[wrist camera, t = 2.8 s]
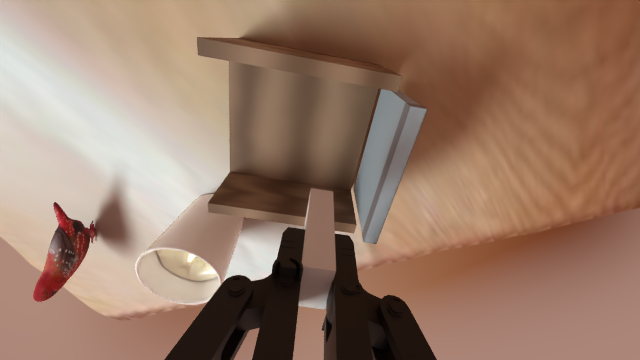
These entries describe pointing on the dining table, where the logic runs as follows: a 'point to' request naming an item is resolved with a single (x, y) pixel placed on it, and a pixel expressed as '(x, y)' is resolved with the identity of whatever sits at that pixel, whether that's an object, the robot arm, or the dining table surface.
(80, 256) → the decorative bird figurine
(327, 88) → the small wooden shelf
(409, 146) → the pale grey panel
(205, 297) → the candle holder
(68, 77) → the dining table surface
